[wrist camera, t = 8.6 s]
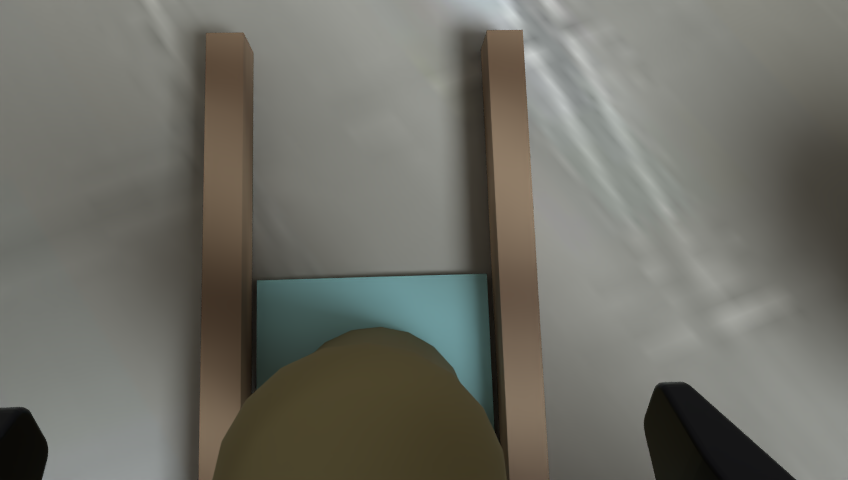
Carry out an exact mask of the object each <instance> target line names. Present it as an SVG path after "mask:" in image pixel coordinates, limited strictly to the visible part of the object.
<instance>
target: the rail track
mask: <svg viewBox="0 0 848 480" xmlns="http://www.w3.org/2000/svg"><path fill="white" fill-rule="evenodd" d="M481 63H482V84H483V104H484V125H485V145H486V165H487V186H488V206H489V227H490V247H491V267H492V288H493V308H494V329H495V349H496V369H497V390H498V410H499V431H500V445H501V447H502V449H503V454H504V462H505V469H506V477H507V480H549V466H548V449H547V433H546V416H545V399H544V382H543V365H542V348H541V331H540V315H539V298H538V281H537V264H536V247H535V230H534V214H533V197H532V180H531V163H530V146H529V129H528V112H527V96H526V79H525V62H524V45H523V30H487V32H486V35H485V38H484V41H483V45H482V48H481ZM252 218H253V51H252V49H251V47H250V45H249V43H248V41H247V39H246V37H245V35H244V33H206V72H205V130H204V189H203V248H202V307H201V365H200V424H199V480H212V479H213V475H214V470H215V466H216V462H217V458H218V454H219V450H220V445H221V441H222V440H223V438H224V436H225V435H226V433H227V431H228V429H229V428H230V426H231V424H232V423H233V421H234V419H235V418H236V416H237V414H238V413H239V411H240V409H241V407H242V406H243V404H244V402H245V401H246V399H247V398H248V397H250V396H251V395H252ZM374 327H384V328H389V329H394V330H399V331H404V332H409V333H411V334H412V335H414V336H416V337H418V338H420V339H421V340H423V341H425V342H427V343H428V344H430V345H432V346H434V347H435V348H436V350H437V351H438V352H439V353H440V354H441V355H442V356H443V357H444V358H445V359H446V360H447V362H448V363H449V364H450V365H451V366H452V367H453V368H454V370H455V372H456V375H457V377H458V379H459V381H460V383H461V384H462V385H463V386H464V387H465V388H466V389H467V390H468V392H469V393H470V394H471V395H472V396H473V397H474V398H475V399H476V400H477V401H478V402H479V404H480V405H481V406H482V407H483V408H484V410H485V412H486V415H487V417H488V419H489V421H490V423H491V425H492V428H493V430H494V414H493V393H492V372H491V351H490V330H489V309H488V288H487V274H460V275H425V276H391V277H357V278H322V279H288V280H257V387H256V390H257V389H258V388H259V387H261V386H262V385H263V384H264V383H265V382H266V381H267V380H268V379H269V378H270V377H272V376H273V375H274V374H275V373H276V372H277V371H278V370H279V369H280V368H282V367H284V366H286V365H288V364H290V363H292V362H295V361H297V360H299V359H301V358H303V357H305V356H308V355H310V354H312V353H314V352H315V351H316V350H317V349H318V348H319V347H320V346H322V345H323V344H324V343H325V342H327V341H329V340H331V339H333V338H336V337H338V336H340V335H342V334H344V333H347V332H349V331H351V330H357V329H365V328H374Z"/></svg>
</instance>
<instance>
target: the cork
mask: <svg viewBox="0 0 848 480" xmlns="http://www.w3.org/2000/svg"><path fill="white" fill-rule="evenodd" d="M212 480H507V477H506V469H505V462H504V454H503V449H502V447H501V445H500V443H499V441H498V438H497V436H496V434H495V432H494V430H493V428H492V425H491V423H490V421H489V419H488V417H487V415H486V412H485V410H484V408H483V407H482V406H481V405H480V404H479V402H478V401H477V400H476V399H475V398H474V397H473V396H472V395H471V394H470V393H469V392H468V390H467V389H466V388H465V387H464V386H463V385H462V384H461V383H460V381H459V379H458V377H457V375H456V372H455V370H454V368H453V367H452V366H451V365H450V364H449V363H448V362H447V360H446V359H445V358H444V357H443V356H442V355H441V354H440V353H439V352H438V351H437V350H436V348H435V347H434V346H432V345H430V344H428V343H427V342H425V341H423V340H421V339H420V338H418V337H416V336H414V335H412V334H411V333H409V332H404V331H399V330H394V329H389V328H384V327H374V328H365V329H357V330H351V331H349V332H347V333H344V334H342V335H340V336H338V337H336V338H333V339H331V340H329V341H327V342H325V343H324V344H323V345H322V346H320V347H319V348H318V349H317V350H316V351H315V352H314V353H312V354H310V355H308V356H305V357H303V358H301V359H299V360H297V361H295V362H292V363H290V364H288V365H286V366H284V367H282V368H280V369H279V370H278V371H277V372H276V373H275V374H274V375H273V376H272V377H270V378H269V379H268V380H267V381H266V382H265V383H264V384H263V385H262V386H261V387H259V388H258V389H257V390H256V391H255V392H254V393H253V394H252V395H251V396H250V397H248V398H247V399H246V401H245V402H244V404H243V406H242V407H241V409H240V411H239V413H238V414H237V416H236V418H235V419H234V421H233V423H232V424H231V426H230V428H229V429H228V431H227V433H226V435H225V436H224V438H223V440H222V441H221V445H220V450H219V454H218V458H217V462H216V466H215V470H214V475H213V479H212Z"/></svg>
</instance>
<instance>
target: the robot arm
mask: <svg viewBox="0 0 848 480" xmlns="http://www.w3.org/2000/svg"><path fill="white" fill-rule="evenodd" d="M644 430H645V436H646V440H647V444H648V448H649V452H650V457H651V461H652V465H653V469H654V473H655V478H656V480H796V479H795V478H794V477H792V476H791V475H790V474H789V473H788V472H787V471H786V470H785V469H783V468H782V467H781V466H780V465H779V464H778V463H777V462H776V461H774V460H773V459H772V458H771V457H770V456H769V455H768V454H767V453H765V452H764V451H763V450H762V449H761V448H760V447H759V446H758V445H756V444H755V443H754V442H753V441H752V440H751V439H750V438H749V437H748V436H746V435H745V434H744V433H743V432H742V431H741V430H740V429H739V428H737V427H736V426H735V425H734V424H733V423H732V422H731V421H730V420H728V419H727V418H726V417H725V416H724V415H723V414H722V413H721V412H719V411H718V410H717V409H716V408H715V407H714V406H713V405H712V404H710V403H709V402H708V401H707V400H706V399H705V398H704V397H703V396H701V395H700V394H699V393H698V392H697V391H696V390H695V389H694V388H692V387H691V386H690V385H688V384H687V383H684V382H662V383H659V384H657V385H656V386H655V388H654V391H653V394H652V397H651V400H650V403H649V406H648V409H647V412H646V414H645V418H644ZM47 457H48V445H47V441H46V439H45V437H44V435H43V434H42V432H41V430H40V428H39V427H38V425H37V423H36V421H35V419H34V418H33V416H32V414H31V412H30V411H29V410H28V409H26V408H24V407H9V408H0V480H42V477H43V473H44V469H45V466H46V462H47Z"/></svg>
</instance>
